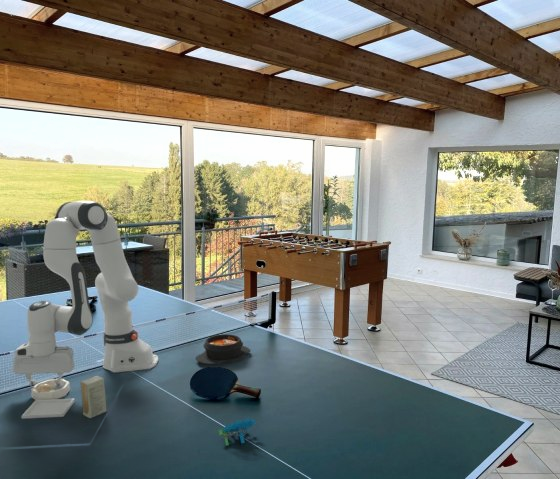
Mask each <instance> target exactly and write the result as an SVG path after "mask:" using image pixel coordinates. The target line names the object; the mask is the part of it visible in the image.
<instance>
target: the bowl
mask: <svg viewBox="0 0 560 479" xmlns="http://www.w3.org/2000/svg"><path fill="white" fill-rule="evenodd" d="M55 380H56V378H55V379H54V378H53V379H50V378H49V379H47V380H44V381H41V382H38V383H37V382H36V384H35V385H33V387H32V388H31V389H30V391H31V398H32V399H34V401H35V400H50V399H62V398H64V397H66V396H67V394H68V393H69V392H70V391H71V387H70V386H71V385H70V384H71V383H70V381H68V380H66V379H64V378H61V383H60V384H63V385H64V387H63V388H61V389H58V390H55V391H54V387H55V386H56V385H57V384H55ZM43 384H48V385H50V387H51V390H50V392H40V387H41V386H42V385H43Z"/></svg>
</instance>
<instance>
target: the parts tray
mask: <svg viewBox="0 0 560 479" xmlns="http://www.w3.org/2000/svg"><path fill="white" fill-rule="evenodd" d="M75 402H76V398H75V397H73V398H58V399H50V400H35V399H34V401H33V402H32V404H31V405H30V406H29V407H28V408H27V409H26V410H25V411H24V413H22V414H21V417H20V418H21V419H40V418H42V419H43V418H46V419H47V418H62V417H65V415H66V414H67V412H68V411H69V410H70V408H72V406H73V405H74V403H75Z"/></svg>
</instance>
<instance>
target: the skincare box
mask: <svg viewBox="0 0 560 479" xmlns="http://www.w3.org/2000/svg"><path fill="white" fill-rule="evenodd" d="M80 391H81V404H82V414H83V416H84V417H87V418H89V419H91V418H94V417H96V416H99V415H101V414H103V413H105V412H107V403H106V402H107V401H106V390H105V379H104V377H102V376H99V375H94V376H92V377H89V378H86V379H84V380H81V381H80Z"/></svg>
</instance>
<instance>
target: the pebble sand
mask: <svg viewBox="0 0 560 479" xmlns="http://www.w3.org/2000/svg"><path fill="white" fill-rule="evenodd" d="M50 390H51V387H50V385H48V384H43V385H42V386H41V387H40V392H50Z"/></svg>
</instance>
